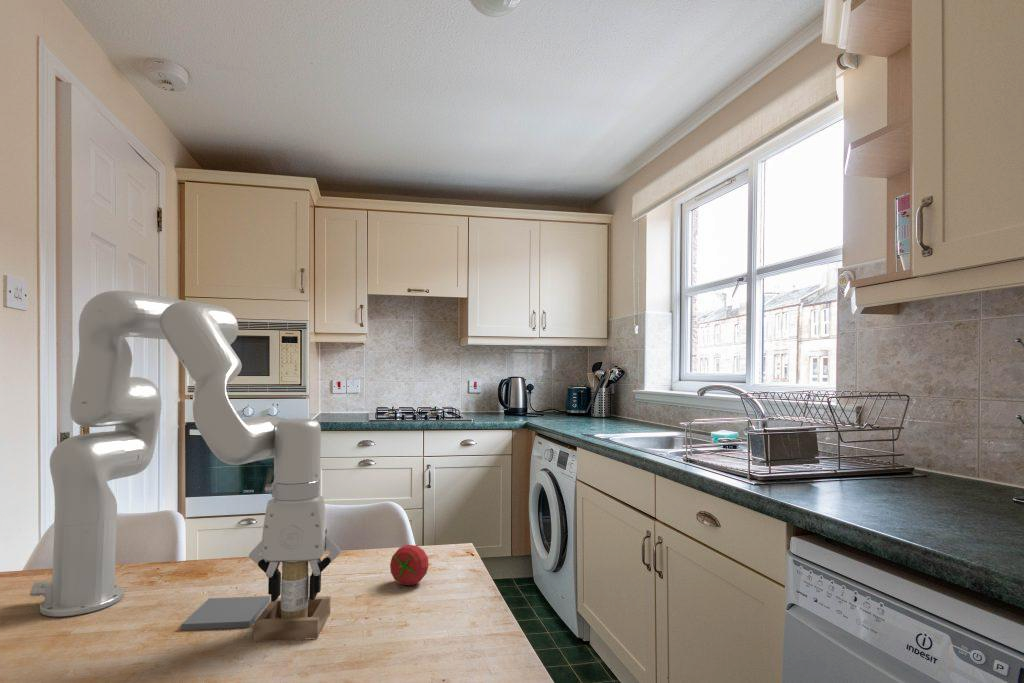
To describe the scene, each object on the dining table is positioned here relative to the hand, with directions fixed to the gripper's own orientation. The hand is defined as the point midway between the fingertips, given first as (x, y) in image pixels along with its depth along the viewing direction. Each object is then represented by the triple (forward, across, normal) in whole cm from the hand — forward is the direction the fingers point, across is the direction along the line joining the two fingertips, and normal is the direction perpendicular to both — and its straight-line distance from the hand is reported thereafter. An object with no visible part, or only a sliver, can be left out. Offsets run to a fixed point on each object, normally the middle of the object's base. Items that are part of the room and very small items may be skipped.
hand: (294, 596), depth 98 cm
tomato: (+5, +18, +18) cm, 26 cm away
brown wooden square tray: (+5, 0, 0) cm, 5 cm away
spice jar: (+5, 0, 0) cm, 5 cm away
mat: (+5, -13, +6) cm, 15 cm away
